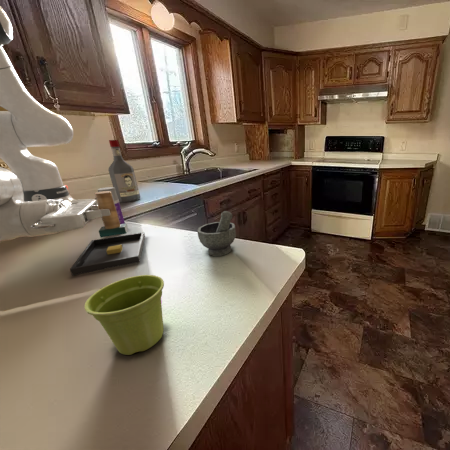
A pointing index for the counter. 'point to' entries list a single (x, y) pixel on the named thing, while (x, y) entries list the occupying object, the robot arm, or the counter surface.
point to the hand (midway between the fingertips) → (111, 209)
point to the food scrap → (114, 249)
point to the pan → (99, 259)
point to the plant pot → (130, 312)
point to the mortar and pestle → (218, 235)
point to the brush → (111, 221)
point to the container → (114, 202)
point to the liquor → (122, 176)
